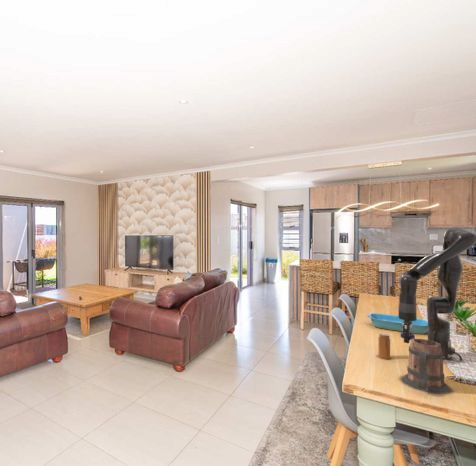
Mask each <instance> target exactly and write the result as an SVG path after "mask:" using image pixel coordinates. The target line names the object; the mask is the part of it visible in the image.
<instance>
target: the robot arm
mask: <svg viewBox="0 0 476 466" xmlns="http://www.w3.org/2000/svg"><path fill="white" fill-rule="evenodd" d="M475 244H476V234H475V233H473V232H471V231H469V230H467V229H465V228H462V227H459V226H451V227H450V228H448V229H447V230H446V231H445V233H444V235H443V240H442V250H441V251H438V252H435V253H433V254H432V253H431V254H429V255H427V256H425V257H424V258H422V259H420V260H419V261H418V262H417V263H416V264H415V265H413V266H412V267H410V268H409V269H408V270H406V271H404V272H403V273H402V274H400V275H399V277H398V279H397V280H398V283H399V284H400V291H399V294H398V316H399V319H402V320H404V322H403V323H402V326H403V331H402V332H403V335H404V338H403V343H404V344H410V341H411V340H410V339H409V336H410V333H411V331H412V321H416V318H417V313H418V312H417V310H418V309H417V296H416V295H417V289H418V281H419V280H420V279H421V278H424V277H426V276H428V275H429V274H431V273H432V272H434V271H435V270H436V269H437V268H438V270H437V273H436V277H437V280H438V281H439V283H440V285H441V286H442V287H443V289H444V291H445V295H444V296H428V298H427V299H426V320H427V321H428V331H427V340H431V341H434V342H437V343H440V344H441V349H442V352H443V359H446V360H449V359H450V358H451V357H452V356H454V355H456V356H458V358H459V361H460V362H463V357H462V356H461V354H459V353H457V352H456V348H454V347H452V340H451V322H450V321H449V320H447V319H444V318H441V317H439V315H441V314H442V315H451V314H453V313H454V311H455V308H456V301H457V296H458V295H457V294H458V290H459V285H460V282H461V280H462V276H463V272H464V267H463V262H462V260H461V257H460V255H461V254H463V252H465V251H467V250H468V249H470V248H472V247H473V246H474V245H475ZM438 314H439V315H438ZM405 332H408V334H406V333H405Z"/></svg>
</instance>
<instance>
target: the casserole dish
mask: <svg viewBox="0 0 476 466" xmlns="http://www.w3.org/2000/svg"><path fill="white" fill-rule="evenodd" d="M366 317H368V318H370V321H371V323H372V325H373V326H374V327H376V328H379V329H383V330H389V331H397V332H403V326H402V323H403V322H404V320H402V319H399V315H395V314H387V313H379V312H371V313H367V314H366ZM411 333H412V334H419V335H424V334H427V333H428V319H424V318H418V317H416V321H412V331H411Z"/></svg>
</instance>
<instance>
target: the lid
mask: <svg viewBox="0 0 476 466" xmlns="http://www.w3.org/2000/svg"><path fill="white" fill-rule="evenodd" d="M405 333H406V334H408V332H405ZM400 338H402V339H404V335H403V331H400ZM409 339H410V340H409V341H411V339H416V335H415V333H410V336H409Z"/></svg>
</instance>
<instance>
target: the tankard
mask: <svg viewBox="0 0 476 466" xmlns="http://www.w3.org/2000/svg"><path fill="white" fill-rule="evenodd" d="M407 363H408V364H407V367H406V368H407V369H406V371H407V373H406V374H405V375H404V376H402V377H401V381H402V382H403V383H404V384H406V385H407V386H410V387H411V388H413V389H417V390H418V391H419V390H420V391H423V392H427V393H433V394H449V393H451V392H452V391H451V390H452V389H451V388H450V387H449V386H448V384H447V383H446V382H445V372H444V358H443V352H442V349H441V344H440V343H437V342H434V341H431V340H428V339H425V338H415V339H411V340H410V342H409V346H408V362H407Z"/></svg>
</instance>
